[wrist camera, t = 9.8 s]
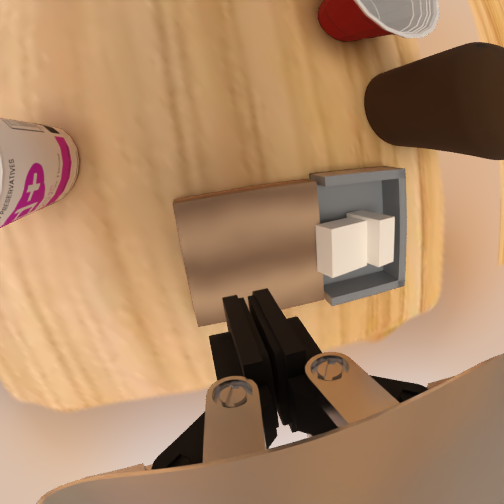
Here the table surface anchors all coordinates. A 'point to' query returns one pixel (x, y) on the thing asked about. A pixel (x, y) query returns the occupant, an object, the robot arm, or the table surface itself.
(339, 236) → the tile
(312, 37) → the table surface
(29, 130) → the supplement can
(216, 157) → the table surface
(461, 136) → the olive oil
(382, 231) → the tile
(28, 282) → the table surface
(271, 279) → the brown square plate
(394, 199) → the box
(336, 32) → the plastic cup
